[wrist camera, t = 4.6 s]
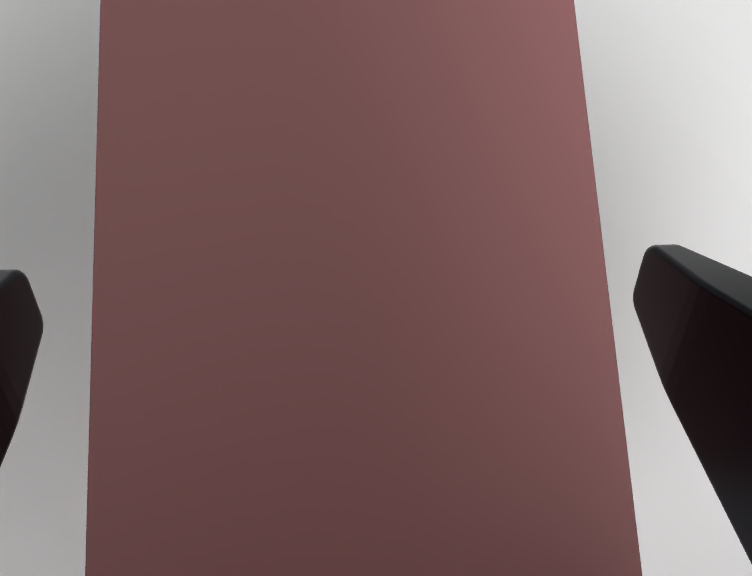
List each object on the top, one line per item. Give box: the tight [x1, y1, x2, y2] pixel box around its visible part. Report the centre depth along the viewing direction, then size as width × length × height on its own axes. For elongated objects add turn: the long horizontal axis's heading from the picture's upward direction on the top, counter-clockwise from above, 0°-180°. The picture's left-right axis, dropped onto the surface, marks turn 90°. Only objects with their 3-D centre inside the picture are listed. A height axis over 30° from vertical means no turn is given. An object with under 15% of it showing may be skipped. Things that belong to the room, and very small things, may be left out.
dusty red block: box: [85, 0, 642, 576], centre depth 10 cm, size 6×3×12 cm, turn 3°
